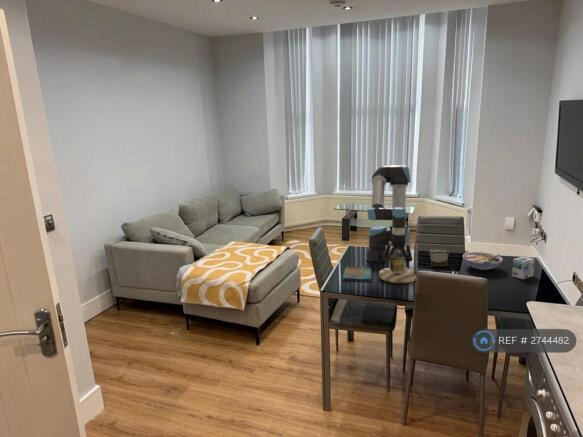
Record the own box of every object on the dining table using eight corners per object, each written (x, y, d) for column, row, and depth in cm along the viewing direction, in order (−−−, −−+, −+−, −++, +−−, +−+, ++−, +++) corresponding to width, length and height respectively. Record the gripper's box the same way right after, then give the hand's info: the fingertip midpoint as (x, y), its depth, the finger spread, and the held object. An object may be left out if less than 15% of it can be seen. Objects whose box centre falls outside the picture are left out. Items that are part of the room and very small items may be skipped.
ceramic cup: (404, 275, 230) (405, 258, 228) (387, 273, 234) (387, 257, 232) (407, 267, 242) (407, 251, 240) (390, 266, 245) (390, 250, 243)
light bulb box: (522, 279, 229) (523, 261, 227) (511, 276, 235) (512, 258, 233) (533, 276, 234) (535, 258, 232) (522, 272, 240) (524, 255, 238)
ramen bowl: (471, 260, 267) (471, 248, 265) (508, 267, 251) (509, 254, 249) (454, 269, 250) (455, 257, 248) (493, 278, 234) (494, 264, 232)
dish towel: (342, 281, 239) (342, 277, 239) (344, 268, 262) (344, 265, 261) (371, 282, 236) (371, 278, 235) (371, 269, 258) (371, 265, 258)
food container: (446, 262, 264) (446, 248, 262) (448, 265, 258) (449, 250, 256) (427, 262, 265) (427, 248, 263) (429, 265, 259) (429, 251, 257)
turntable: (372, 278, 237) (372, 247, 233) (389, 267, 253) (390, 239, 249) (407, 286, 223) (408, 253, 219) (423, 274, 239) (424, 244, 235)
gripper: (378, 232, 237) (378, 268, 242) (413, 237, 223) (412, 275, 228) (384, 230, 242) (384, 265, 247) (419, 234, 228) (418, 272, 233)
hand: (398, 270), depth 237 cm, fingers closed on ceramic cup, 9 cm apart
